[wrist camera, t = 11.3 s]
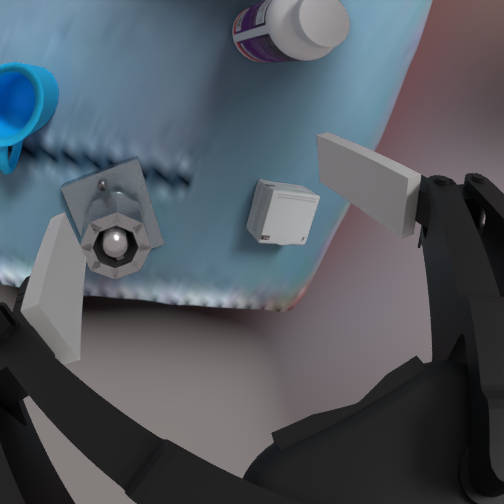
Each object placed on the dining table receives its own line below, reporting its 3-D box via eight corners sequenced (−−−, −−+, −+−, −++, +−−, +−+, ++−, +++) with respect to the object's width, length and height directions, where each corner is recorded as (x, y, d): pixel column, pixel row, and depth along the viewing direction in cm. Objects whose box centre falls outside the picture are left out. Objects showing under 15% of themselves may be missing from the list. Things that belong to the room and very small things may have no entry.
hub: (76, 207, 33) (71, 229, 28) (133, 186, 34) (136, 204, 30) (98, 258, 37) (98, 285, 32) (151, 238, 39) (157, 263, 34)
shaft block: (62, 184, 33) (50, 212, 26) (137, 156, 36) (143, 176, 29) (96, 263, 40) (95, 304, 33) (163, 239, 42) (175, 275, 35)
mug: (6, 64, 23) (-20, 62, 16) (66, 68, 27) (52, 64, 20) (-10, 162, 28) (-35, 182, 21) (47, 167, 31) (31, 188, 25)
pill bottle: (294, 56, 36) (367, 55, 25) (239, 69, 35) (299, 68, 24) (279, 2, 32) (350, -19, 20) (221, 12, 30) (276, -17, 19)
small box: (303, 184, 47) (322, 196, 43) (288, 231, 51) (305, 246, 47) (257, 177, 44) (273, 189, 40) (243, 228, 47) (258, 244, 43)
